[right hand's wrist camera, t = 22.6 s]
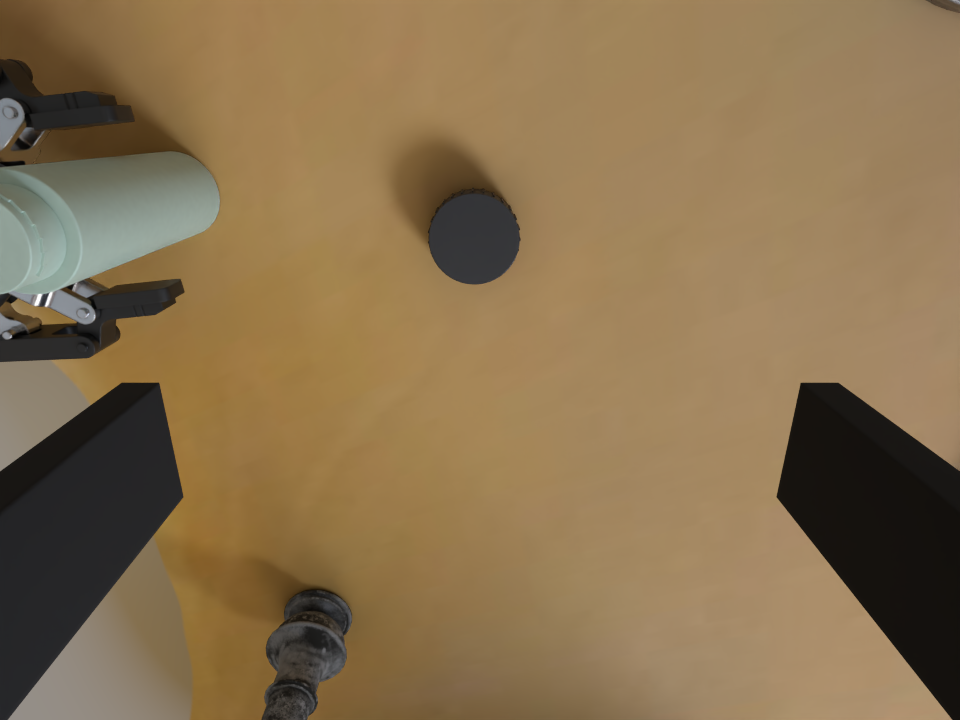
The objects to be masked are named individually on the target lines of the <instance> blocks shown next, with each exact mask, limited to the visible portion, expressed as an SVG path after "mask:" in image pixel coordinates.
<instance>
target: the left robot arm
mask: <svg viewBox="0 0 960 720" xmlns="http://www.w3.org/2000/svg"><path fill="white" fill-rule="evenodd" d="M32 80H33V76H32V72H31V70H30V68H29V67H28V66H27V65H26V64H25V63H24V62H22V61H19V60H12V59H7V60H3V59H0V167H9V166H20V165H30V164H33V162H34V161H35V160H36V158H37V157H38V156H39V154H40V152H41V150H40V149H39V146H40V145H41V143H42V142H43V141H44V139H45V138H46V137H47V135H48V134H49V133H50V131H51V130H67V129H75V128H84V127H92V126H101V125H110V124H118V123H127V122H134V121H135V119H134V116H133V113H132V109H131V106H124V105H117V102H116V99H115V96H113V95H110V94H106V93H103V92H90V91H81V92H73V93H65V94H56V95H48V96H44V95H43V94H41V93H40V92H39V91H38V90H37V89H36V87H35V86H34V84H33V83H32ZM183 293H184V289H183V285H182V282H181V279H171V280H162V281H153V282H143V283H134V284H124V285H116V286H114V287H112V288H110V289H109V288H107V287H105V286H103V285H101V284H99V283H97V282H95V281H94V280H92V279H90V278H86V279H84V280H81V281H79V282H76V283H74V284H71V285H69V286H66V287H64V288H61V289H59V290H56V291H54V292H50V293H46V294H24V293H19V292H15V291H11V292H8V293H4V294H0V362H10V361H33V360H56V359H79V358H89V357H91V356H93V355H95V354H96V353H98V352H100V351H101V350H103V349H105V348H106V347H108V346H110V345H111V344H113V343H115V342H116V341H118V340H119V338H120V331H119V329H118V327H117V326H116V319H120V318H130V317H139V316H149V315H156V314H158V313H159V312H161V311H163V310H165V309H166V308H168V307H170V306H171V305H173V304H175V303H176V301H175V298H176V297H177V296H179V295H181V294H183ZM17 299H20V300H22V301H24V302H26V303H28V304H31V305H34V306H39V307H49V308H51V309H53V310H55V311H57V312H59V313H61V314H63V315H65V316H67V317H69V318H71V319H73V320H75V321H77V323H73V324H50V325H42V321H41V320H40V319H39V318H33V317H31V316H28V315H22V314H19V313H17V312H16V311H15V310H14V309H13V308H12V306H11V303H13V302H14V301H16V300H17Z"/></svg>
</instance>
